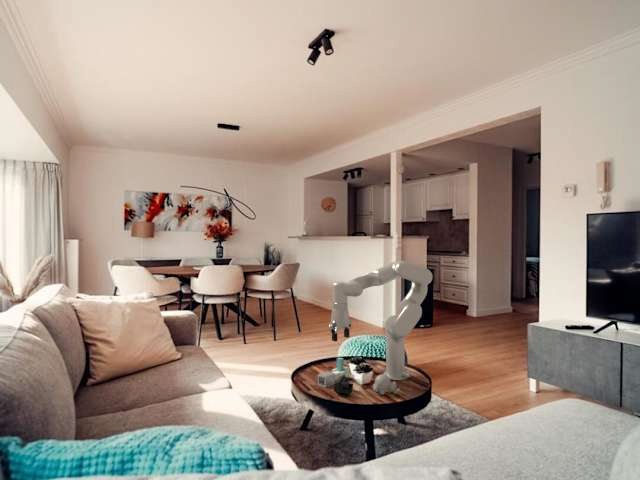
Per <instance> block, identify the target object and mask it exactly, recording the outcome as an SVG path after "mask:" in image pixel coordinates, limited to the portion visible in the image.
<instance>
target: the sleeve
mask: <svg viewBox="0 0 640 480" xmlns="http://www.w3.org/2000/svg"><path fill="white" fill-rule="evenodd" d="M335 383H336V380H335V373H332V371H329V370H326V371H324V372H321V373H318V374H317V386H320V387H323V388H324V389H325V388H328V387H331V386H334V384H335Z"/></svg>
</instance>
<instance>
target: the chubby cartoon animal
mask: <svg viewBox="0 0 640 480" xmlns="http://www.w3.org/2000/svg"><path fill="white" fill-rule="evenodd" d="M372 389H373V391H374V392H376V393H378V394H380V395H382V396H384V395H385V394H386V391H387V390H389V391H390V392H392V393H393V394H395V395H396V394H398V393H399V392H400V389H401V388H400V387H399V388H398V386H397V380H394V381H391V379H389V377H388V376H387V375H384V374H383V373H381V374H379V375H377V376H376V377H375V379H374V383H373V384H372Z"/></svg>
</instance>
